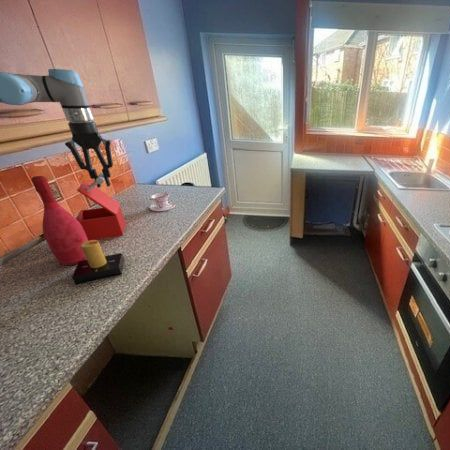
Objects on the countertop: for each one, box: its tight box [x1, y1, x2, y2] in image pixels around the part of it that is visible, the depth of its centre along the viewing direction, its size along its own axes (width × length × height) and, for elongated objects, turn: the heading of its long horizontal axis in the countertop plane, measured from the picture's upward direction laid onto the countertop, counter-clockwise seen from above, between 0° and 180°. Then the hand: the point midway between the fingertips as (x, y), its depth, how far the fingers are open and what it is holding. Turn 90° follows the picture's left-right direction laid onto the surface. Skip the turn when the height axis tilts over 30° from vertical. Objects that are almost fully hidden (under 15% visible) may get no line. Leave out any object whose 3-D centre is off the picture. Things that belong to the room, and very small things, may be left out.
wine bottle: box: [31, 175, 88, 266], centre depth 81 cm, size 10×10×30 cm
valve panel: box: [71, 252, 125, 286], centre depth 82 cm, size 12×9×3 cm
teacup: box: [149, 192, 176, 212], centre depth 127 cm, size 12×12×6 cm
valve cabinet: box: [75, 205, 127, 241], centre depth 103 cm, size 14×12×9 cm
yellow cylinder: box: [81, 239, 107, 268], centre depth 79 cm, size 4×4×8 cm
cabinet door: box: [76, 172, 121, 216], centre depth 99 cm, size 15×12×8 cm
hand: (104, 185), depth 98 cm, fingers closed on cabinet door, 2 cm apart
